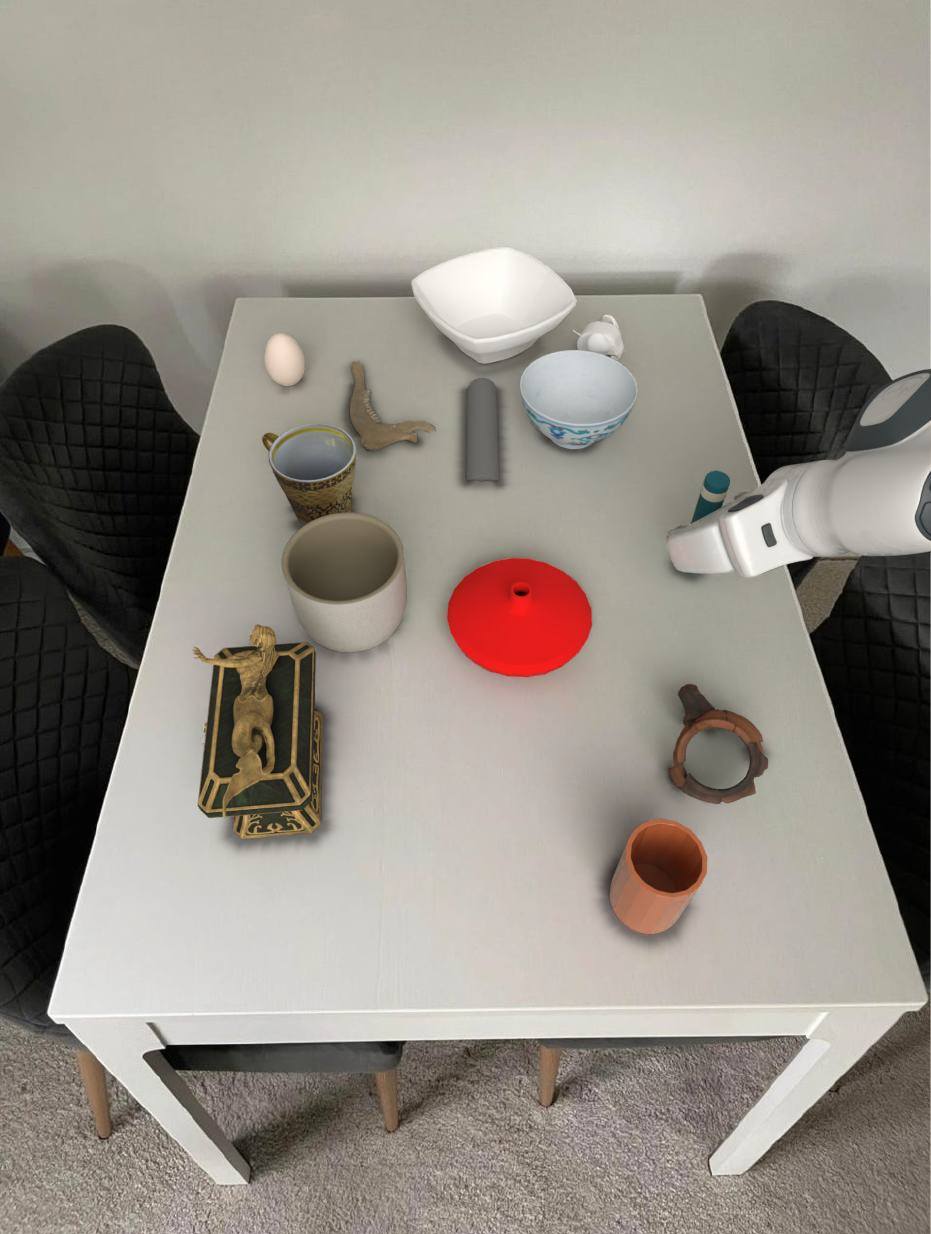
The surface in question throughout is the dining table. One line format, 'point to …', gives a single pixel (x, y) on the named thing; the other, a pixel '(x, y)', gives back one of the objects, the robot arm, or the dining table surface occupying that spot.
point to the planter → (346, 580)
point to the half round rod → (482, 431)
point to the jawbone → (369, 422)
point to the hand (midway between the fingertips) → (708, 518)
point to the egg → (284, 359)
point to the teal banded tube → (711, 495)
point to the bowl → (493, 301)
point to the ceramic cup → (314, 469)
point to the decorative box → (263, 738)
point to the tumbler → (657, 875)
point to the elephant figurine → (602, 338)
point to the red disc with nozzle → (519, 617)
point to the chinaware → (577, 396)
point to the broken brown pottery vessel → (707, 716)
